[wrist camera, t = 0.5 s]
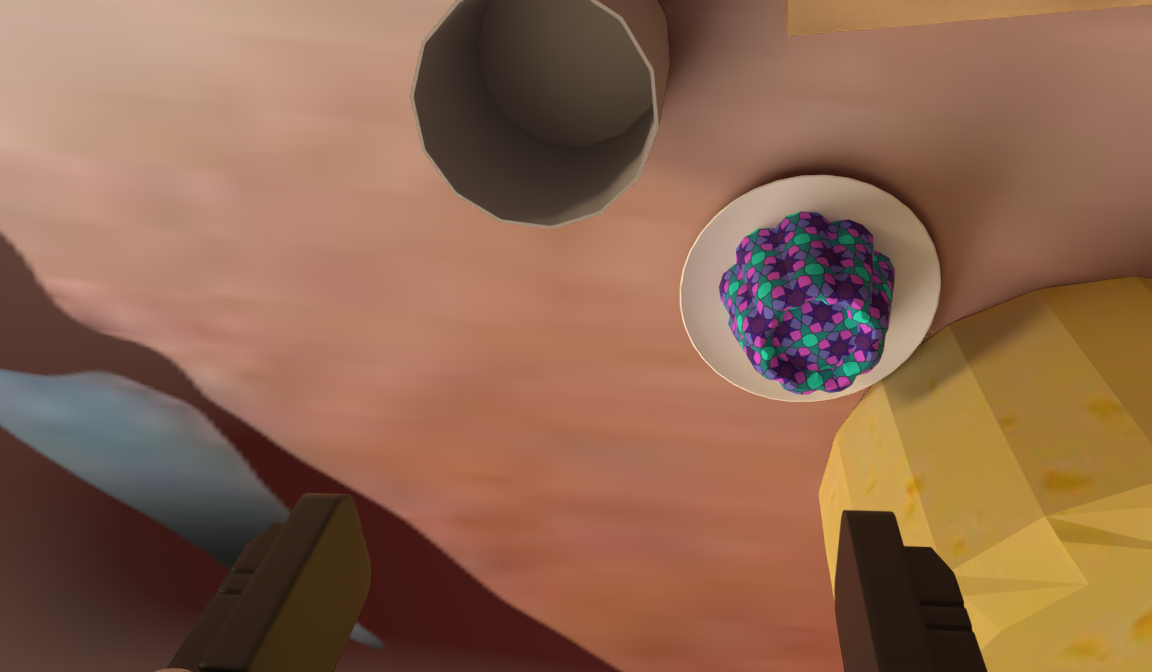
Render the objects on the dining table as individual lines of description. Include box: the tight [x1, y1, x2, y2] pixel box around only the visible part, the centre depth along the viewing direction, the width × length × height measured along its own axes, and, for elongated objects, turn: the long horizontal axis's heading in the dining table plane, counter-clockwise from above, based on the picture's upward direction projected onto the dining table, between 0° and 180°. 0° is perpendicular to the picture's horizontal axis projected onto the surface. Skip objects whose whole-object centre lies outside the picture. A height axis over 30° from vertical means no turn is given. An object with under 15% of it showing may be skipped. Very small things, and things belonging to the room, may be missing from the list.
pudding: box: [680, 175, 941, 402], centre depth 39 cm, size 12×12×5 cm
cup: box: [410, 0, 670, 229], centre depth 33 cm, size 8×8×10 cm
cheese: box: [819, 276, 1152, 672], centre depth 39 cm, size 26×26×15 cm
